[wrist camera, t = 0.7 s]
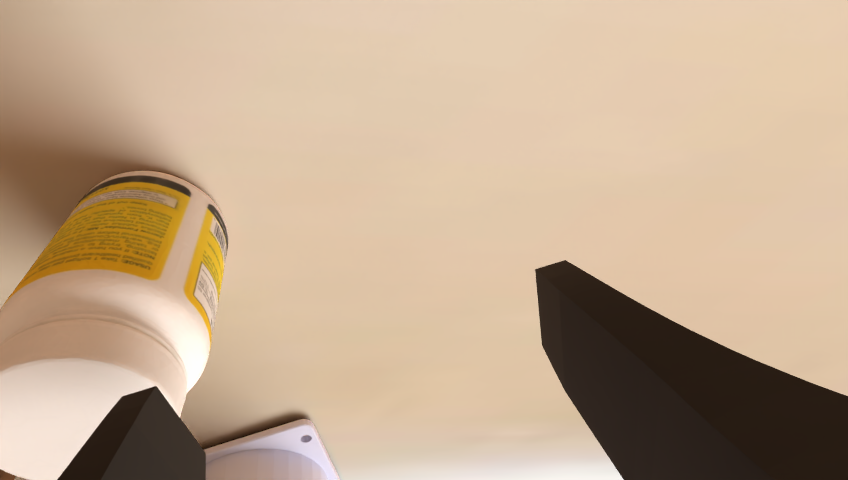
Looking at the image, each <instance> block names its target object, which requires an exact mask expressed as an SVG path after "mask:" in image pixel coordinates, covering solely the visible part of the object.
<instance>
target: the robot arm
mask: <svg viewBox="0 0 848 480" xmlns="http://www.w3.org/2000/svg"><path fill="white" fill-rule="evenodd" d="M535 271H536V283H537V294H538V305H539V316H540V327H541V338H542V346H543V348H544V350H545V352H546V354H547V356H548V358H549V360H550V362H551V364H552V366H553V368H554V370H555V372H556V374H557V376H558V378H559V380H560V382H561V384H562V386H563V388H564V390H565V391H566V393H567V394H568V396H569V398H570V399H571V401H572V402H573V404H574V405H575V407H576V408H577V410H578V411H579V413H580V414H581V416H582V417H583V419H584V420H585V422H586V424H587V425H588V427H589V428H590V430H591V431H592V433H593V434H594V436H595V437H596V439H597V440H598V442H599V443H600V445H601V446H602V448H603V449H604V451H605V452H606V454H607V455H608V457H609V458H610V460H611V461H612V463H613V464H614V466H615V467H616V469H617V470H618V472H619V473H620V475H621V476H622V478H623V479H624V480H848V396H846V395H843V394H840V393H837V392H834V391H832V390H829V389H826V388H823V387H821V386H818V385H815V384H813V383H810V382H807V381H805V380H802V379H800V378H797V377H795V376H793V375H790V374H788V373H785V372H783V371H780V370H778V369H775V368H773V367H770V366H768V365H765V364H763V363H761V362H758V361H756V360H753V359H751V358H749V357H747V356H744V355H742V354H740V353H737V352H735V351H733V350H731V349H729V348H727V347H725V346H722V345H720V344H718V343H716V342H714V341H712V340H710V339H708V338H706V337H704V336H702V335H699V334H697V333H695V332H693V331H691V330H689V329H687V328H685V327H683V326H681V325H679V324H677V323H675V322H673V321H672V320H670V319H668V318H666V317H664V316H662V315H660V314H658V313H657V312H655V311H653V310H651V309H649V308H647V307H645V306H644V305H642V304H640V303H638V302H636V301H635V300H633V299H631V298H629V297H628V296H626V295H624V294H622V293H621V292H619V291H617V290H615V289H614V288H612V287H610V286H609V285H607V284H605V283H603V282H602V281H600V280H598V279H597V278H595V277H593V276H591V275H590V274H588V273H586V272H585V271H583V270H581V269H580V268H578V267H576V266H574V265H573V264H571V263H569V262H567V261H566V260H564V261H561V262H558V263H555V264H551V265H548V266H545V267H542V268H538V269H535ZM304 435H307V436H304ZM57 480H340V478H339V476H338V474H337V472H336V469H335V467H334V465H333V463H332V461H331V459H330V457H329V455H328V453H327V451H326V449H325V447H324V445H323V443H322V441H321V439H320V437H319V435H318V432H317V430H316V428H315V426H314V424H313V423H312V422H311V421H310V420H308V419H300V420H297V421H294V422H290V423H287V424H284V425H281V426H278V427H274V428H271V429H268V430H265V431H262V432H258V433H255V434H252V435H249V436H245V437H242V438H239V439H236V440H233V441H229V442H226V443H223V444H220V445H217V446H213V447H210V448H207V449H204V450H203V449H202V448H201V446H200V445H199V443H198V442H197V441H196V439H195V438H194V437H193V435H192V434H191V433H190V431H189V430H188V428H187V427H186V426H185V424H184V423H183V422H182V420H181V419H180V417H179V416H178V415H177V413H176V412H175V411H174V409H173V408H172V406H171V405H170V404H169V402H168V401H167V400H166V398H165V397H164V396H163V394H162V393H161V391H160V390H159V389H158V387H157V386H154V387H151V388H148V389H144V390H141V391H138V392H135V393H131V394H128V395H125V396H122V397H121V398H120V399H119V401H118V402H117V403H116V404H115V405H114V407H113V408H112V409H111V410H110V412H109V413H108V414H107V415H106V417H105V418H104V419H103V420H102V422H101V423H100V424H99V426H98V427H97V428H96V429H95V431H94V432H93V433H92V435H91V436H90V437H89V439H88V440H87V441H86V443H85V444H84V445H83V446H82V448H81V449H80V450H79V452H78V453H77V454H76V456H75V457H74V458H73V460H72V461H71V462H70V464H69V465H68V466H67V468H66V469H65V470H64V471H63V473H62V474H61V475H60V477H59V478H58V479H57Z"/></svg>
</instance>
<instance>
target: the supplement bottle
mask: <svg viewBox="0 0 848 480" xmlns="http://www.w3.org/2000/svg"><path fill="white" fill-rule="evenodd" d="M227 249H228V230H227V225H226V222H225V219H224V217H223V215H222V213H221V211H220V209H219V208H218V206H217V205H216V204H215V202H214V201H213V200H212V199H211V198H210V197H209V196H208V195H207V194H205V193H204V192H203V191H202V190H200V189H199V188H197V187H196V186H194V185H192V184H191V183H189V182H187V181H185V180H183V179H180V178H178V177H175V176H172V175H169V174H166V173H161V172H155V171H132V172H125V173H121V174H118V175H115V176H112V177H110V178H108V179H106V180H104V181H102V182H100V183H99V184H97V185H96V186H94V187H93V188H92V189H91V190H90V191H89V192H88V193H87V194H86V195H85V196H84V197H83V198H82V199H81V200H80V202H79V203H78V204H77V206H76V208H75V209H74V210H73V211H72V213H71V214H70V216H69V217H68V218H67V220H66V221H65V222H64V224H63V225H62V227H61V228H60V229H59V230H58V232H57V233H56V235H55V236H54V237H53V238H52V240H51V241H50V243H49V244H48V245H47V247H46V248H45V249H44V251H43V252H42V253H41V255H40V256H39V257H38V259H37V260H36V262H35V263H34V264H33V266H32V267H31V268H30V270H29V271H28V272H27V274H26V275H25V277H24V278H23V279H22V281H21V282H20V283H19V284H18V286H17V287H16V289H15V290H14V292H13V293H12V294H11V295H10V296H9V298H8V299H7V301H6V302H5V303H4V305H3V307H2V308H1V310H0V469H1V470H3V471H5V472H8V473H10V474H12V475H15V476H17V477H21V478H24V479H28V480H57V479H58V478H59V477H60V475H61V474H62V473H63V471H64V470H65V469H66V468H67V466H68V465H69V464H70V462H71V461H72V460H73V458H74V457H75V456H76V454H77V453H78V452H79V450H80V449H81V448H82V446H83V445H84V444H85V443H86V441H87V440H88V439H89V437H90V436H91V435H92V433H93V432H94V431H95V429H96V428H97V427H98V426H99V424H100V423H101V422H102V420H103V419H104V418H105V417H106V415H107V414H108V413H109V412H110V410H111V409H112V408H113V407H114V405H115V404H116V403H117V402H118V401H119V399H120V398H121V397H122V396H125V395H128V394H131V393H135V392H138V391H141V390H144V389H148V388H151V387H154V386H157V387H158V389H159V390H160V391H161V393H162V394H163V396H164V397H165V398H166V400H167V401H168V402H169V404H170V405H171V406H172V408H173V409H174V411H175V412H176V413H177V415H178V416H179V417H180V416H181V412H182V408H183V405H184V402H185V399H186V393H187V392H189V390H190V389H191V388H192V387H193V386H194V385H195V384H196V382H197V381H198V379H199V378H200V376H201V374H202V372H203V370H204V368H205V366H206V363H207V360H208V356H209V353H210V347H211V341H212V335H213V329H214V323H215V318H216V312H217V306H218V300H219V294H220V289H221V283H222V278H223V272H224V266H225V259H226V255H227Z"/></svg>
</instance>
